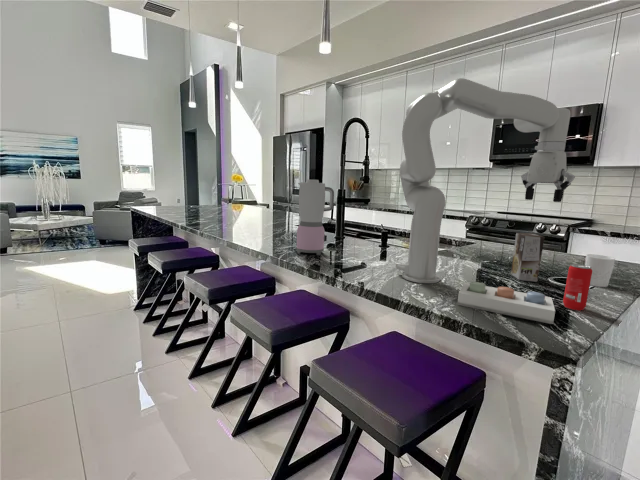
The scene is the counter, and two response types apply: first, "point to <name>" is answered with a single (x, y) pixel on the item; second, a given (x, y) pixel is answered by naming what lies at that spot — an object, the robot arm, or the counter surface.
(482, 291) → the button sage
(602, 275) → the white cup
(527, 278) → the coffee box
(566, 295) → the beverage can
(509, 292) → the button terracotta
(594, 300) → the counter surface
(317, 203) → the blender
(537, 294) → the button slate
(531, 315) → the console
